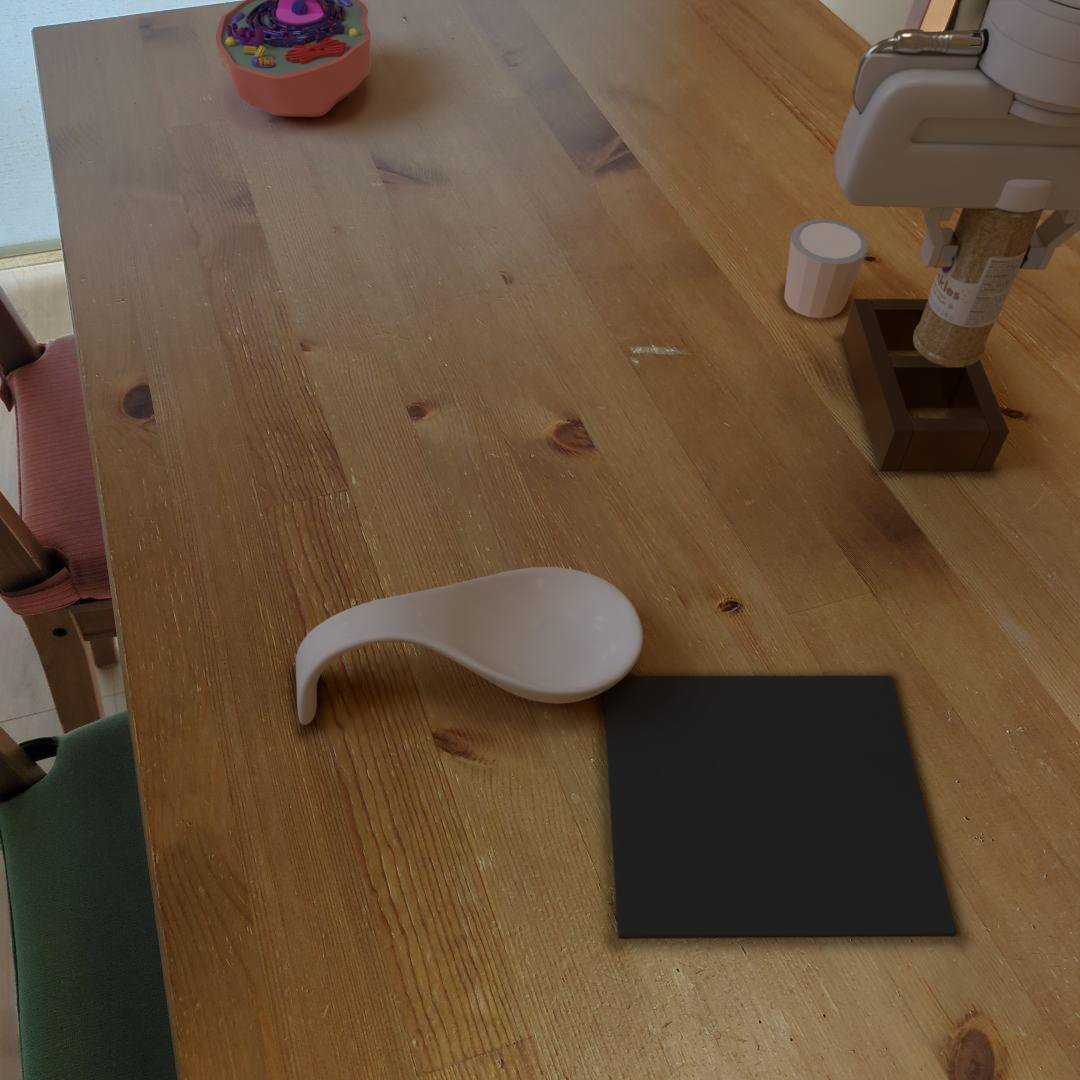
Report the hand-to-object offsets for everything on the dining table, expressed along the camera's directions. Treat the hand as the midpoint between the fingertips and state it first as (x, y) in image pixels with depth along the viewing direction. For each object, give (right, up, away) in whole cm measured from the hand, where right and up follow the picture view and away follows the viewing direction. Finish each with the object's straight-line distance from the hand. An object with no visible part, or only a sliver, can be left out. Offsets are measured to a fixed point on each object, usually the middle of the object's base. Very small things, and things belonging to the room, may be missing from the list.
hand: (981, 262), depth 66 cm
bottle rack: (+6, -5, +29) cm, 30 cm away
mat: (-12, -33, +5) cm, 36 cm away
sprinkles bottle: (0, -4, +5) cm, 7 cm away
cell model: (-53, +33, +60) cm, 87 cm away
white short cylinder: (-1, +6, +38) cm, 39 cm away
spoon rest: (-31, -26, +10) cm, 42 cm away
